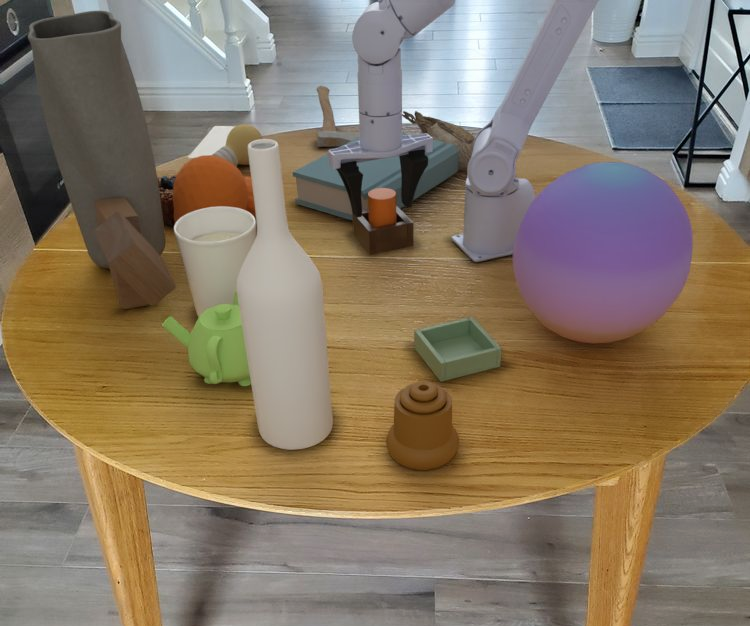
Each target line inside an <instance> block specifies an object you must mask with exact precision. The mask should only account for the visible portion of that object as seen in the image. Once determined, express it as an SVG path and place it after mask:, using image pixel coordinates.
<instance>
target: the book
mask: <svg viewBox="0 0 750 626" xmlns="http://www.w3.org/2000/svg"><path fill="white" fill-rule="evenodd" d="M402 135H412V134H411V133H406V132H403V131H402ZM359 140H360V137H358V138H356V139H354V140H352V141H350V142H348V143H346V144H345V145H348V144H351V143H353V142H356V141H359ZM345 145H343V146H345ZM340 147H342V146H340ZM425 155H426V156H427V157H428V166H427V167H426V169H425V170H424V172H423V174H422V176H421V178H420V180H419V183H418V185H417V188H416V191H415V195H414V198H413V202H414V201H415V200H418V198H420V197H422V196H423V195H425V194H426V193H427V192H430V191H431V190H432V189H434V188H435V187H438V186H439V185H441V184H442V183H443V182H445V181H447V180H448V179H450V178H452V176H454V175H455V174H456V173H458V172H459V170H458V161H459V151H458V149H457V148H456V146H455V145H454V144H450V143H449V144H448V145H447V144H446V143H445V142H441V141H437V140H433V150H432V152H429V153H425ZM357 166H359V171H360V172H361V173H362V174H363V179H362V188H361V202H362V210H367V209H368V193H369V191H371V190H373V189H377V188H389V189H392V190H394V191H395V192H396V205H397V206H398V207H399V208H400V209H401V210H402V209H403V208H405V207H406V206H405V205H404V204H403V203H402V198H401V183H402V177H401V165H400V158H399V156H395V157H389V158H384V159H378V160H372V161H366V162H361V163H357ZM292 177H293V178H295V182H296V183H295V184H296V193H297V197H296V198H295V199H294V204H296V205H299V206H303V207H306V208H309V209H312V210H315V211H319V212H322V213H326V214H329V215H333V216H336V217H339V218H342V219H346V220H349V221H352V222H353V216H352V208H351V203H350V200H349V196H348V193H347V191H346V188H345V186H344V183H343V181H342V179H341V177H340V175H339V173H338V171H337V169H333V168H332V167H331V166H330V165H329V157H328V152H327V153H326V154H324V155H322V156H320V157H318V158H316V159H314V160H313V161H311V162H308V163H306V164H305V165H302V166H301V167H298V168H297V169H295V170H293V171H292Z"/></svg>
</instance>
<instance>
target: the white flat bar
mask: <svg viewBox="0 0 750 626" xmlns="http://www.w3.org/2000/svg"><path fill="white" fill-rule="evenodd" d="M236 126H237V125H214V126H213V127H212V128H211V129H210V131H209V132H208V133H207V134H206V135H205V136H204V138H203V139H202V140H201V141H200V142H199V143H198V145H197V146H196V147H195V148H194V149H193V151H192V152H191V153H190V154H189V155H188V156H187V159H193V158H196V157H199V156H206V155H212V154H214V153H215V152H216V151H218V150H219V149H220V148H222V147H223V146H225V145H226V140H227V136H228V134H229V132H230V131H231V130H232V129H233V128H234V127H236Z"/></svg>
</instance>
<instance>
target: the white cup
mask: <svg viewBox="0 0 750 626" xmlns="http://www.w3.org/2000/svg"><path fill="white" fill-rule="evenodd" d="M173 234H174V235H175V238H176V242H177V246H178V250H179V253H180V257H181V261H182V265H183V268H184V273H185V276H186V281H187V284H188V287H189V291H190V295H191V299H192V302H193V306H194V310H195V312H196V316H197V319H198V318H199V317H200V315H201V314H202V313H203V312H204V311H205V310H207V309H209V308H211V307H214V306H217V305H219V304H233V305H234V293H235V292H237V278H238V275H239V272H240V270H241V267H242V265H243V263H244V261H245V259H246V257H247V255H248V253H249V251H250V249H251V247H252V245H253V243H254V241H255V239H256V236H257V220H255V218H254V216H253V215H252V214H251V213H249V212H248V211H246V210H243V209H240V208H235V207H225V206H220V207H209V208H203V209H199V210H196V211H193V212H190V213H188V214H186V215H184V216H182V217H181V218H180V219H179V220H178V221H177V222H176V223H175V225H173Z"/></svg>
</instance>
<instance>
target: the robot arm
mask: <svg viewBox="0 0 750 626" xmlns="http://www.w3.org/2000/svg"><path fill="white" fill-rule="evenodd" d="M599 1H600V0H553V1H552V2H551V4H550V6H549V8H548V10H547V12H546V13H545V16H544V18H543V20H542V22H541V24H540V26H539V28H538V30H537V32H536V34H535V36H534V37H533V40H532V42H531V44H530V46H529V48H528V50H527V52H526V54H525V56H524V59H523V60H522V62H521V64H520V66H519V68H518V70H517V72H516V74H515V76H514V78H513V80H512V82H511V84H510V86H509V88H508V90H507V92H506V94H505V96H504V98H503V100H502V101H501V104H500V105H499V106H498V108H497V109H496V111H495V113H494V114H493V116H492V118H491V120H490V121H489V122H488V123H487V124H485V125H484V126H483V127H482V128H481V129H480V130H479V131H478V132H477V133H476V135H475V136H474V138H475V139H474V143H473V152H472V156H471V159H470V161H469V163H468V168H467V172H466V175H467V177H466V179H465V189H464V209H463V225H462V226H463V228H462V230H463V231H462V233H459V234H455V235H452V236H451V241H452V242H453V243H455V244H456V246H457V247H459V248H460V250H462V251H463V252H464V254H466V255H467V256H468V258H469V259H470V260H472V261H473V262H474V263H479V262H484V261H488V260H493V259H499V258H503V257H507V256H513V249H514V243H515V238H516V235H517V233H518V230H519V227H520V224H521V222H522V220H523V217H524V215H525V213H526V211H527V210H528V208H529V206H530V204H531V203H532V202H533V200H534V199H535V198H536V194H535V193H536V192H535V190H534V187H533V185H532V184H531V182H530V181H529V179H527V178H524V177H521V178H519V177H517V161H518V159H519V157H520V154H521V152H522V151H523V149H524V147H525V143H526V140H527V137H528V135H529V133H530V130H531V128H532V125H533V123H534V122H535V120H536V118H537V116H538V114H539V112H540V111H541V109H542V107H543V105H544V103H545V101H546V100H547V98H548V95H549V94H550V92H551V90H552V88H553V87H554V84H555V83H556V81H557V79H558V77H559V75H560V73H561V71H562V70H563V68H564V66H565V64H566V62H567V60H568V58H569V56H570V55H571V53H572V51H573V49H574V47H575V45H576V43H577V41H578V40H579V38H580V36H581V34H582V33H583V30H584V29H585V27H586V25H587V23H588V22H589V19H590V18H591V16H592V14H593V12H594V10H595V8H596V6H597V4H598V2H599ZM455 2H456V0H377V1H376V2H373V3H371V4H370V5H368V6H367V7H366V8H365V9H364V10H363V12H362V14H361V15H360V17H358V19H357V20H356V22H355V23H354V27H353V30H352V37H351V38H352V39H351V41H352V45H353V48H354V51H355V52H356V55H357V70H358V71H357V97H358V98H357V102H358V125H359V126H358V129H359V131H360V140H359V141H356V142H353V143H351V144H348V145H345V146H342V147H341V146H338V147H335V148H330V149H328V150H327V153H328V157H329V165H330V166H331V167H332V168H333V169H337V171H338V173H339V175H340V177H341V179H342V181H343V183H344V186H345V188H346V191H347V193H348V196H349V200H350V203H351V208H352V213H353V214H354V215H355V216H356V217H357V218H358V217H362V202H361V188H362V179H363V174H362V173H361V172H360V171H359V166H357V163H361V162H366V161H372V160H378V159H384V158H389V157H395V156H399V158H400V165H401V177H402V183H401V198H402V203H403V204H404V205H405V206H404V207H406V208H407V209H409V208H410V209H411V208H412V206H413V202H414V201H413V198H414V195H415V191H416V188H417V185H418V183H419V180H420V178H421V176H422V174H423V172H424V170H425V169H426V167H427V166H428V157H427V156H426V155H425V153H429V152H432V150H433V138H432V137H431V136H430V135H428V134H427V133H425V134H422V133H418V134H417V133H416V134H411V135H402V132H403V116H402V114H403V71H402V49H401V47H400V46H401V45H402V43H403V42H404V40H408V39H412V38H414V37H415V36H416V35H418V34H419V33H420V32H422V31H423V30H424V29H426V28H427V27H428V26H429V25H431V24H432V23H433V22H434V21H435V20H437V19H438V18H440V17H441V16H442V15H443V14H444V13H446V12H447V11H448V10H450V9H451V8H452V7H453V6H454V5H455Z"/></svg>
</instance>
